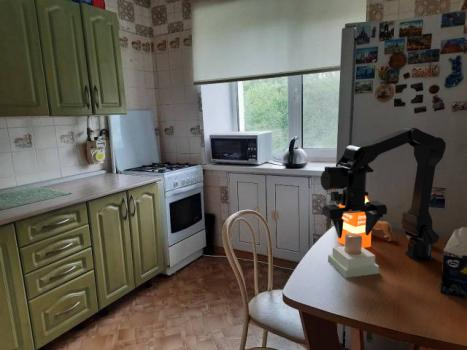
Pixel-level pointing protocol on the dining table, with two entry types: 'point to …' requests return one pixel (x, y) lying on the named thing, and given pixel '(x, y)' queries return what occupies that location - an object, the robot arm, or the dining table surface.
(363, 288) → the dining table surface
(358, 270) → the sage slab
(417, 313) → the dining table surface
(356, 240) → the pale pink cylinder
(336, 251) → the cream slab
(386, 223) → the lion figurine
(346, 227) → the orange juice
